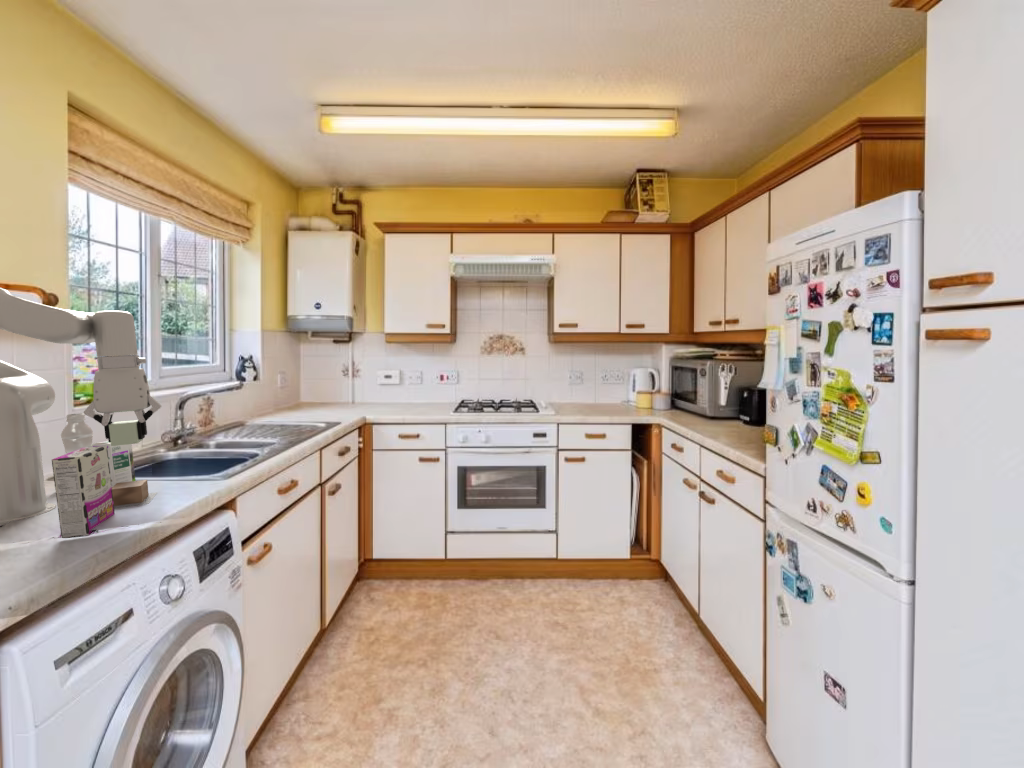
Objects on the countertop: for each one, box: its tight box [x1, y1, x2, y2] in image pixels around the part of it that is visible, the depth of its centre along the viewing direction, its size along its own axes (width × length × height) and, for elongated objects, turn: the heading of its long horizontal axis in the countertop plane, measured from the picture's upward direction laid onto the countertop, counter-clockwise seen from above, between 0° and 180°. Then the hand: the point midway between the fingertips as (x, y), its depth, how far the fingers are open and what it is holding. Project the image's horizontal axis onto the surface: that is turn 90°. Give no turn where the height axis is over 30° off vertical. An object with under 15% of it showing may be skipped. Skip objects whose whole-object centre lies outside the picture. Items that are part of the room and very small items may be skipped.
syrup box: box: [92, 440, 137, 487], centre depth 124 cm, size 6×6×14 cm
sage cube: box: [109, 419, 144, 446], centre depth 117 cm, size 5×5×5 cm
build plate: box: [114, 492, 158, 509], centre depth 118 cm, size 9×10×1 cm
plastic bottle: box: [60, 412, 94, 454], centre depth 135 cm, size 6×7×20 cm
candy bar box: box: [51, 446, 115, 539], centre depth 102 cm, size 11×5×16 cm, turn 17°
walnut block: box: [112, 479, 149, 506], centre depth 118 cm, size 6×6×4 cm
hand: (127, 439), depth 117 cm, fingers closed on sage cube, 5 cm apart
